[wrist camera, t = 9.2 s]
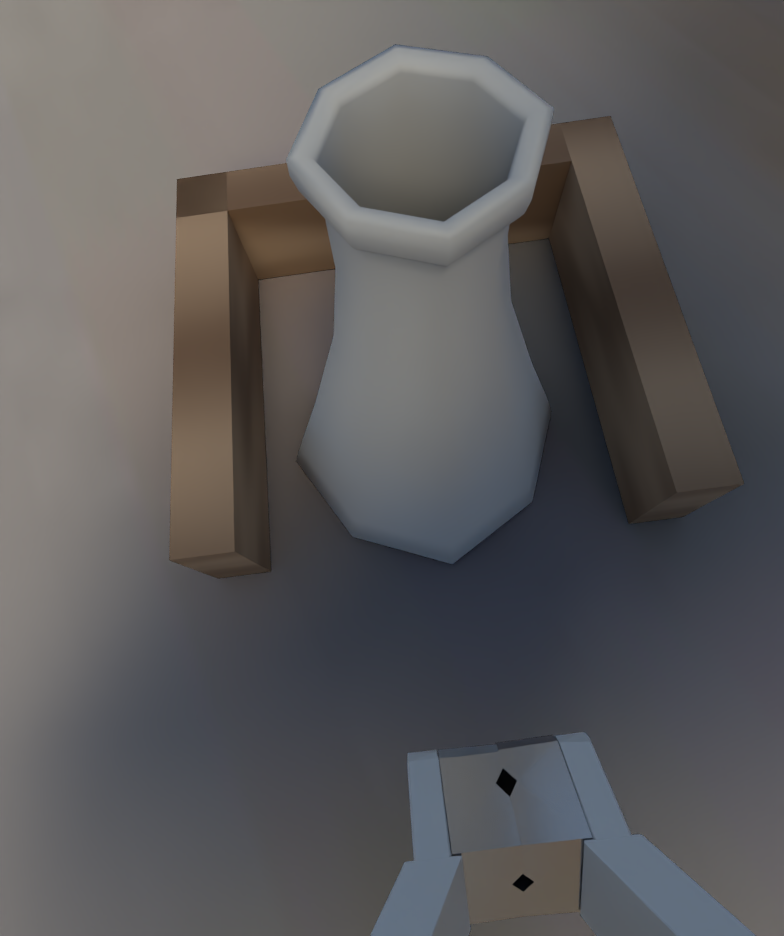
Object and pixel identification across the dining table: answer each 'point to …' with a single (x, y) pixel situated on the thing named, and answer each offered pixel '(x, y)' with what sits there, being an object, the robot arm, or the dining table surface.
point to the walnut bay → (308, 250)
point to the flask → (424, 298)
